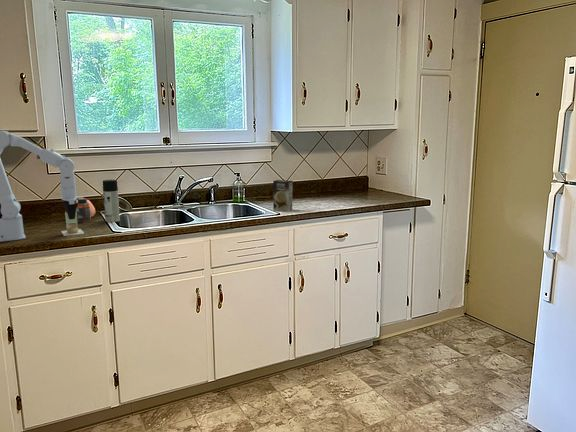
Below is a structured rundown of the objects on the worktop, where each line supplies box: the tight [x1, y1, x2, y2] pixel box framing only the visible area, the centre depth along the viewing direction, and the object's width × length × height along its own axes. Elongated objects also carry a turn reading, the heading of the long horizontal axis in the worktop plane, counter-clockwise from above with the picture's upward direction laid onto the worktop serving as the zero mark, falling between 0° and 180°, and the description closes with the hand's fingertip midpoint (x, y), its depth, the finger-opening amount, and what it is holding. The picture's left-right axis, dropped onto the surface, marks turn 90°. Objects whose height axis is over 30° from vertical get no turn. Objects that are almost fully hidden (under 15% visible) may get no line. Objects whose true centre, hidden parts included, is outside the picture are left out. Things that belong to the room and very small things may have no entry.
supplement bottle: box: [76, 197, 92, 224], centre depth 230 cm, size 6×6×11 cm
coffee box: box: [272, 179, 294, 212], centre depth 258 cm, size 9×6×16 cm
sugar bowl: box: [64, 197, 96, 218], centre depth 239 cm, size 12×14×10 cm
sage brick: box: [64, 212, 78, 224], centre depth 206 cm, size 4×4×4 cm
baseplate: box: [61, 228, 85, 237], centre depth 208 cm, size 8×10×1 cm
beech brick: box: [65, 222, 79, 234], centre depth 207 cm, size 4×4×4 cm
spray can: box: [102, 179, 121, 223], centre depth 230 cm, size 7×7×20 cm
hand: (71, 218), depth 206 cm, fingers closed on sage brick, 4 cm apart
